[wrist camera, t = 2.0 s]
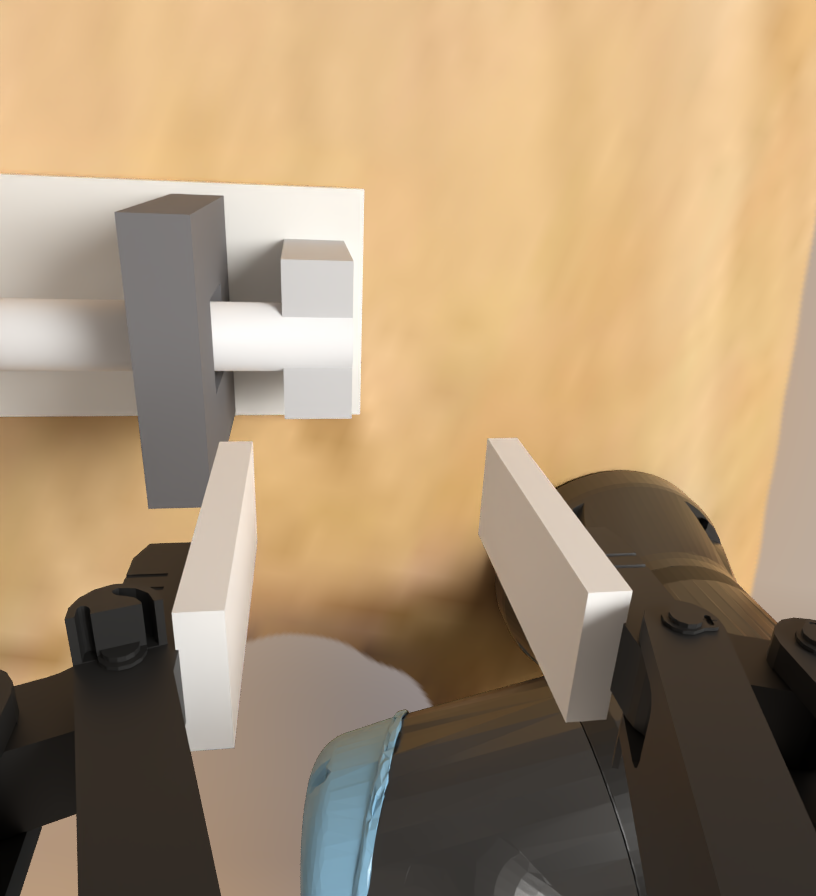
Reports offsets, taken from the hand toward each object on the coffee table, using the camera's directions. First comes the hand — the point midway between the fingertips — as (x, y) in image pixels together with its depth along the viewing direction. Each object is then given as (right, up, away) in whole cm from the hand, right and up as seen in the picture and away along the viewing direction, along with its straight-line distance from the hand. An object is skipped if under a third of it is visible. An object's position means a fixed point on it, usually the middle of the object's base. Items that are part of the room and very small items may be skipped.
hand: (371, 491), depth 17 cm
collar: (-9, +8, +18) cm, 22 cm away
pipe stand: (-17, +9, +19) cm, 27 cm away
